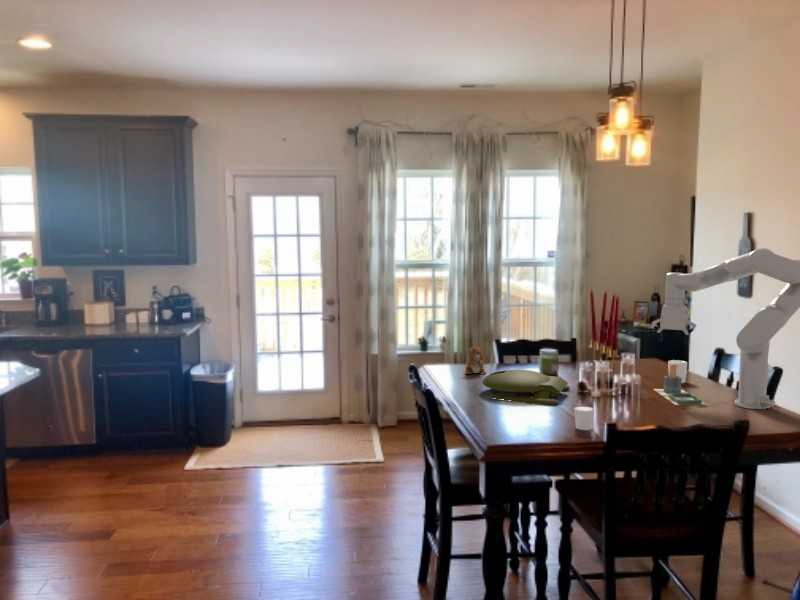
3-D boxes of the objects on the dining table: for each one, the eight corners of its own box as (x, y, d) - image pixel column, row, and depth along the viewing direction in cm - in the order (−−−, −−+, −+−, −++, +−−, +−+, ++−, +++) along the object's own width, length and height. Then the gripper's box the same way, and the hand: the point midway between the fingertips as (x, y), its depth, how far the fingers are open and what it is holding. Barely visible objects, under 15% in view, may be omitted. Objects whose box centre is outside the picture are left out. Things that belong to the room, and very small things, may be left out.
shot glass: (575, 430, 221) (575, 410, 220) (572, 424, 228) (573, 405, 227) (595, 431, 220) (595, 411, 219) (592, 425, 227) (592, 406, 226)
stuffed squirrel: (466, 375, 310) (466, 349, 309) (464, 369, 324) (464, 344, 323) (486, 375, 310) (486, 349, 309) (483, 369, 324) (483, 344, 323)
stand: (706, 407, 248) (707, 388, 247) (675, 407, 248) (675, 388, 248) (681, 391, 273) (681, 374, 273) (652, 391, 274) (653, 374, 273)
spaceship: (570, 390, 280) (571, 368, 279) (557, 407, 252) (557, 383, 252) (494, 383, 295) (494, 362, 294) (473, 399, 267) (472, 376, 266)
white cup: (683, 381, 291) (683, 360, 290) (689, 385, 283) (689, 363, 282) (665, 381, 292) (665, 360, 291) (670, 385, 284) (671, 363, 283)
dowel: (677, 392, 267) (678, 364, 266) (672, 393, 266) (673, 365, 265) (671, 391, 270) (672, 363, 268) (667, 392, 268) (667, 364, 267)
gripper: (698, 302, 262) (696, 343, 264) (654, 300, 272) (653, 339, 274) (695, 304, 256) (693, 346, 258) (650, 302, 266) (649, 342, 267)
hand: (672, 343), depth 266 cm, fingers open, 9 cm apart
